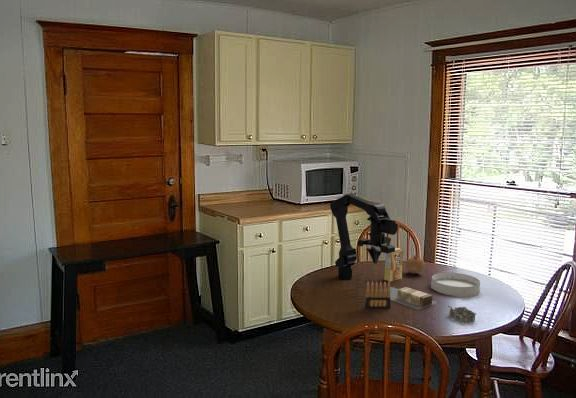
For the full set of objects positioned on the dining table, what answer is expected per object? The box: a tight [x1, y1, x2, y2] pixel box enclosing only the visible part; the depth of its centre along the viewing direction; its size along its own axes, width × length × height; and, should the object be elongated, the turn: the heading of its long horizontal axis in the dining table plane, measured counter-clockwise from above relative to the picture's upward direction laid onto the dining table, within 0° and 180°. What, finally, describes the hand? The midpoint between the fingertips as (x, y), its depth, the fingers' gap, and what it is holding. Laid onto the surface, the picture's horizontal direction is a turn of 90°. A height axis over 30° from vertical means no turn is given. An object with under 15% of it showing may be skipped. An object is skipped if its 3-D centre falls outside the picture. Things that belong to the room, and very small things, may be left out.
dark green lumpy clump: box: [448, 305, 477, 324], centre depth 213 cm, size 11×8×4 cm
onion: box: [405, 254, 426, 275], centre depth 270 cm, size 10×9×10 cm
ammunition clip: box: [364, 280, 391, 310], centre depth 222 cm, size 11×2×12 cm, turn 90°
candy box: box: [383, 247, 404, 283], centre depth 260 cm, size 9×4×15 cm, turn 129°
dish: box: [430, 272, 481, 298], centre depth 248 cm, size 22×22×5 cm
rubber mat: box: [382, 286, 438, 311], centre depth 235 cm, size 26×14×1 cm, turn 39°
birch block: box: [397, 286, 433, 308], centre depth 230 cm, size 4×6×14 cm
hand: (375, 263), depth 246 cm, fingers closed
